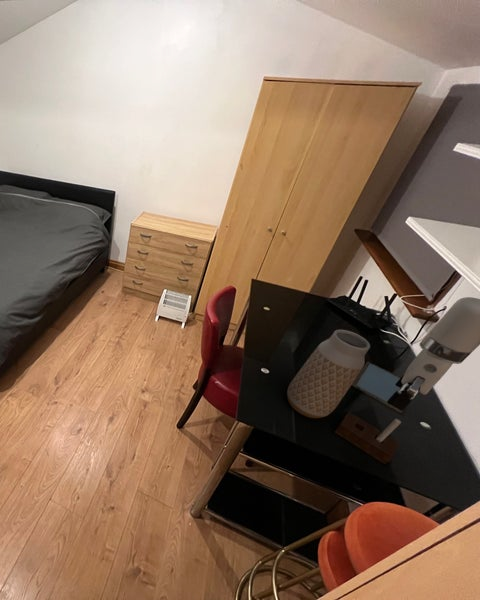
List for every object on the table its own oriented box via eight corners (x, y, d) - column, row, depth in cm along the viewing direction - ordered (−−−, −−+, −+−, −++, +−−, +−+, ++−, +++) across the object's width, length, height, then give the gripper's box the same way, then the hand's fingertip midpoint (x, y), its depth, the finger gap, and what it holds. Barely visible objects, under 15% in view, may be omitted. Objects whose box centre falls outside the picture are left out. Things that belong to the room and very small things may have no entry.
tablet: (366, 362, 134) (367, 361, 134) (412, 385, 125) (413, 383, 124) (351, 386, 122) (352, 384, 121) (400, 413, 112) (402, 411, 112)
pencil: (375, 447, 100) (401, 421, 93) (374, 449, 99) (400, 423, 92) (370, 443, 101) (395, 417, 94) (368, 446, 100) (394, 420, 93)
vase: (336, 420, 108) (392, 352, 91) (303, 426, 105) (355, 357, 88) (304, 388, 119) (349, 322, 102) (273, 393, 116) (314, 326, 99)
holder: (391, 449, 100) (399, 441, 98) (385, 464, 95) (393, 457, 93) (342, 419, 108) (348, 411, 106) (334, 432, 104) (341, 424, 101)
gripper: (462, 373, 67) (410, 424, 77) (470, 342, 77) (422, 390, 86) (416, 353, 72) (372, 403, 81) (429, 326, 81) (388, 373, 91)
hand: (398, 396), depth 84 cm, fingers open, 9 cm apart
